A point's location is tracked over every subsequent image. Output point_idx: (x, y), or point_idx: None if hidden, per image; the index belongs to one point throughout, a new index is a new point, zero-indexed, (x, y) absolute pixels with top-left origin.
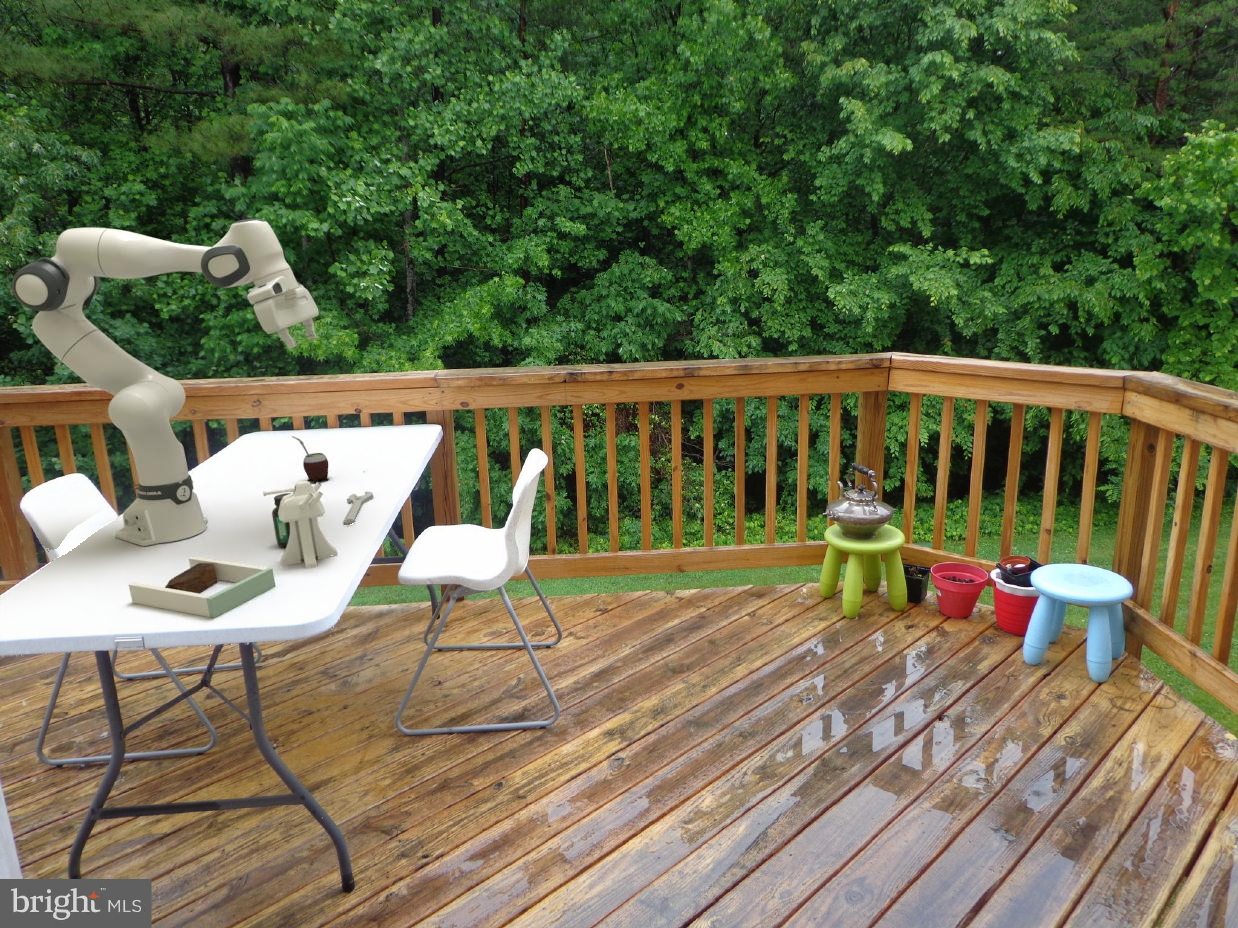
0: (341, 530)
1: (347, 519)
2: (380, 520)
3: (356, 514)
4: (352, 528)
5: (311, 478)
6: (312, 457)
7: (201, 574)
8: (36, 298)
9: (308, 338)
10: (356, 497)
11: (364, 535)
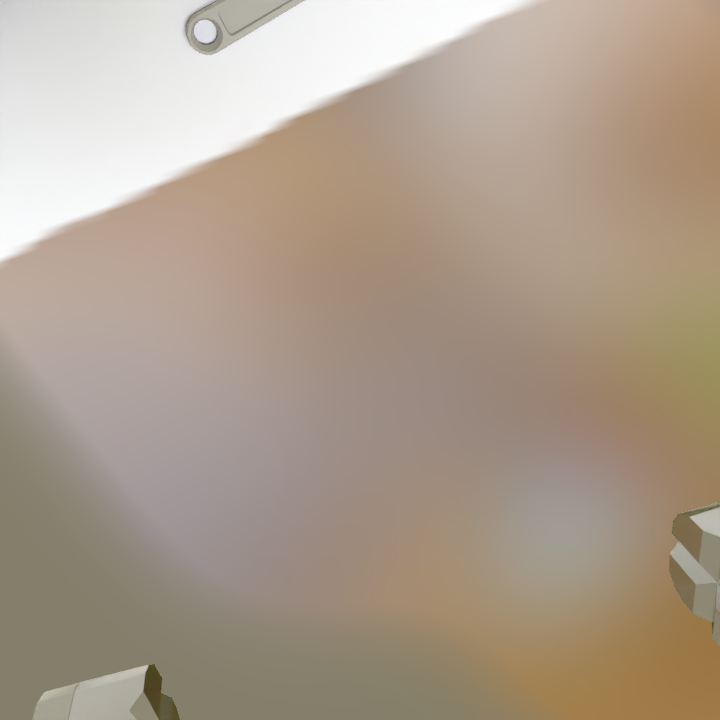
0: (142, 47)
1: (216, 22)
2: (265, 121)
3: (276, 15)
4: (172, 75)
5: None
6: None
7: None
8: None
9: (694, 537)
10: None
11: (131, 160)
